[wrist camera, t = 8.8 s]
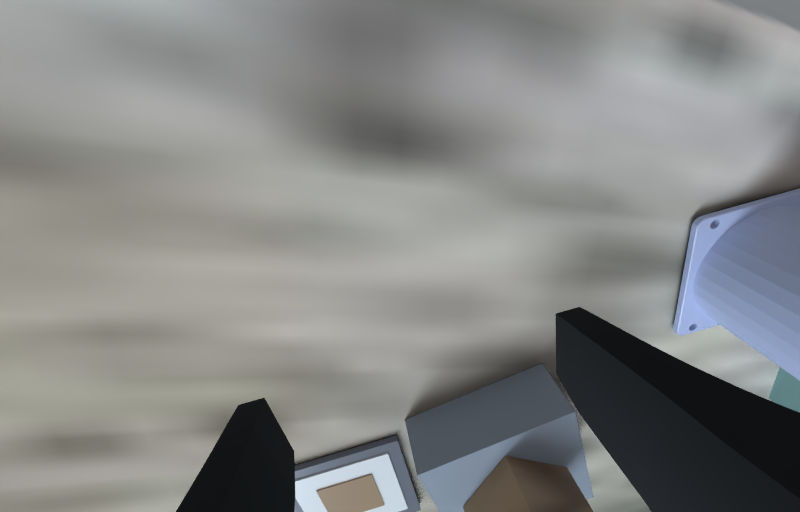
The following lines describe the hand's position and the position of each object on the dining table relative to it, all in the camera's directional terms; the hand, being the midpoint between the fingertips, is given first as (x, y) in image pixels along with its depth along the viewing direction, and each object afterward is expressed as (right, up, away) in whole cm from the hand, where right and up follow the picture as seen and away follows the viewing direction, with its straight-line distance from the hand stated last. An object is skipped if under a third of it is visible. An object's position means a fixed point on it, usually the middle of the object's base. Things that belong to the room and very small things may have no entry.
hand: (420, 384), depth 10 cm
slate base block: (+5, -9, +17) cm, 20 cm away
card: (-4, -12, +17) cm, 21 cm away
